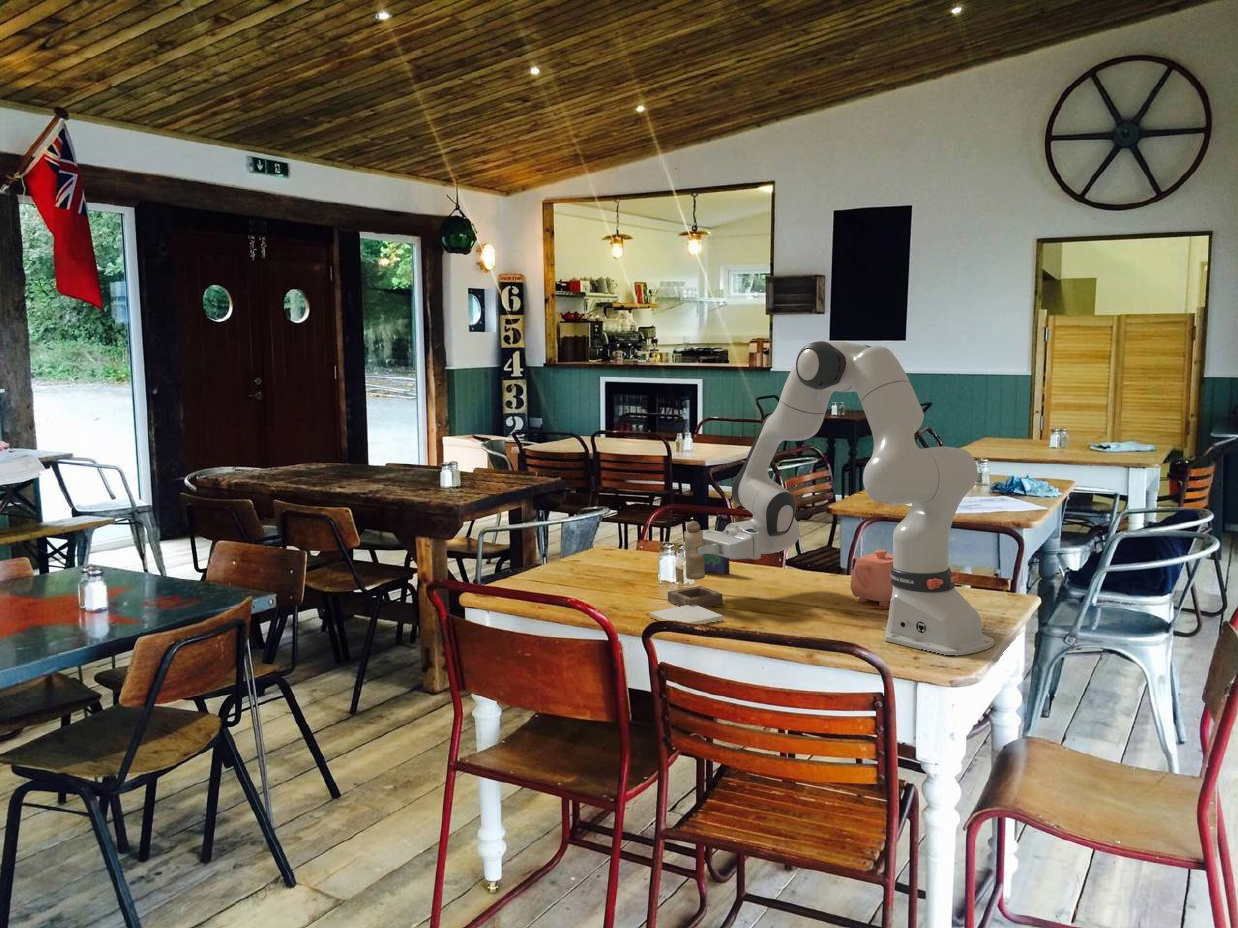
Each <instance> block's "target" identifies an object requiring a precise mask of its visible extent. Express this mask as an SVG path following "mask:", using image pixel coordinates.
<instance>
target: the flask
mask: <svg viewBox="0 0 1238 928" xmlns="http://www.w3.org/2000/svg"><path fill="white" fill-rule="evenodd" d="M730 567H731V565H730V559H729V558H726V557H722V556H719V555H715V554H704V570H705V574H708V575H713V574H714V575H723V576H726V575H727V576H728V575H730Z"/></svg>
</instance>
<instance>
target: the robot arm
mask: <svg viewBox="0 0 1238 928" xmlns="http://www.w3.org/2000/svg"><path fill="white" fill-rule="evenodd" d="M834 392H839V393H851V392H852V393H854V392H856V394H857V397H858V399H859V401H860V404H861V407H862V409H863V411H864V412H863V413H864V414H865V417H866V420H867V422H868V426H869V428H870V430H871V434H872V438H873V450H872V455H871V457H870V459H869V460H868V462H867V463H866V465H865V466H864V470H863V474H862V482H863V488H864V490H865V492H866V493H867V495H868V497H869V499H871V501H874V502H875V503H877V504H880V505H881V504H882V505H889V506H890V505H892V506H902V505H910V504H911V506H910V509H909V511H908V512H907V514H906V516H905V517H904V518H903V519H902V520H901V521H900V522H899V523H898V524H897V525H896V526H895V528H894V529H893V534H892V554H893V566H892V567H891V573H890V576H891V584H892V585H893V589H892V596H891V601H889V605H890V606H889V610H888V619H887V624H886V627H885V629H884V633H885V634H884V640H885V641H886V642H890V643H893V644H898V645H900V646H901V645H902V646H905V647H910V648H913V649H918V650H921V649H923V650H922V651H925V650H927V651H926V652H929V651H932V652H931V653H933V652H936V653H935V654H937V653H940V654H939V655H941V654H944V655H943V656H945V655H955V656H964V655H969V654H976V653H978V652H979V653H980V652H982V651H983V652H984V651H985V650H988V649H990V648H992V647H993V646H994V645H995V639H994V638H992V637H991V636H988V635H987V634H984V633H983V627H982V621H981V616H980V614H979V612H978V611H977V610H976V609H975V608H974V607H973V606H972V605H971V604H970V603H969V602H968V601H967V600H966V598H964V596H963V595H962V594H961V593H960V592H959V591H958V590H957V589H956V583H955V582H959V581H960V579H958V578H959V577H960V575H954V576H953V572H952V571H951V568H950V566H949V555H950V551H949V549H950V535H951V528H952V524H953V520H954V518H955V516H956V512H957V510H958V508H959V506H960V504H961V502H962V501H963V499H964V498H965V496H966V495H968V493H969V492H970V491H971V490H972V489H973V488H974V487H975V486H976V483H977V479H978V473H979V472H978V465H977V462H976V460H975V458H974V457H973V455H972V454H971V453H970V452H969V451H967V450H966V449H963V448H959V447H954V446H953V447H952V446H945V445H944V446H933V447H927V448H926V447H925V448H920V447H919V446H918V444H917V442H916V439H915V434H916V433H917V432H918V431H919V429H920V428H921V426H922V424H923V422H924V417H925V414H924V413H925V412H924V410H923V409H922V406H921V404H920V402H919V399H918V397H917V394H916V392H915V390H914V388H913V386H912V384H911V381H910V379H909V377H908V376H907V373H906V371H905V369H904V368H903V366H902V365H901V363H900V361H899V360H898V359H897V357H896V355H894V353H893V351H891V350H890V349H889V348H887V347H885V346H881V345H879V346H877V345H876V346H871V345H867V344H856V343H851V342H848V341H847V342H846V341H823V340H819V341H814V342H810V343H807V344H805V346H803V347H802V348H801V349H800V350H799V352H798V354H797V356H796V361H795V364H794V365H793V367H792V369H791V371H790V372H789V374H788V377H787V378H786V381H785V383H784V386H783V389H782V391H781V394H780V396H779V400H778V403H777V406H776V407H775V410H774V411H773V412H772V413H770V414H768V416H766V417H765V418H764V420H763V421H762V424H761V426H760V428H759V430H758V431H757V434H756V436H755V437H754V438H755V439H754V441H753V443H752V445H751V447H750V450H749V452H748V455H747V456H746V458H745V461H744V463H743V465H742V467H741V469H740V470H739V472H738V473H737V474H736V477H735V478H734V480H733V482H732V485H731V496H732V500H733V501H734V502H735V504H737V505H739V506H741V507H742V508H743V509H745V510H747V511H748V512H749V513H751V514H752V518H751V519H749V520H743V521H736V522H730V523H728V524H727V525H726V526H725V528H724V530H722V531H718V530H714V529H703V530H701V531H703V545H700V546H697V547H696V552H697V553H698V554H715V555H719V556H722V557H726V558H729V560H746V559H748V560H759V559H761V558H762V557H761V556H762V555H767V554H768V555H769V554H773V553H777V552H782V551H785V550H787V549H790V548H791V547H793V546H794V545H795V544H796V543H797V542H798V540H799V538H800V525H799V522H798V521H797V520H796V517H795V516H796V510H797V499H796V498H795V496H794V495H793V493H791V492H790V491H788V490H787V489H786V488H785V487H783V486H782V485H780V484H779V483H777V482H776V481H774V480H773V479H772V478H770V475H769V471H768V470H769V468H770V465H771V463H772V461H773V458H774V456H775V454H776V451H777V449H778V448H779V445H780V444H781V443H782V442H783V441H789V442H791V441H793V442H799V441H806V440H808V439H810V438H812V437H814V436H815V435H816V434H817V433H818V432H819V430H820V429H821V428H822V427H821V426H822V424H823V422H824V419H825V415H826V412H827V409H828V405H829V402H830V399H831V396H832V394H833V393H834ZM682 548H683V550H684V551H685V541H684V542H683V543H682Z"/></svg>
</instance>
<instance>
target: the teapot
mask: <svg viewBox="0 0 1238 928" xmlns="http://www.w3.org/2000/svg"><path fill="white" fill-rule="evenodd" d="M892 566H893V553H888V551H887V550H885V549H876V550H875V551H874V552H872V553H869V554H865V555H861V556H859V557H858V558H857V559H856V560H855V563H854V567H853V569H852V574H851V578H850V590H851V592H852V595H853V596H854V597H857V598H858V600H857V602H858V603H859V602H860V603H868V602H869V601H875V602H878V606H879V607H880V608H881V607H882V608H883V607H884V608H886V607H890V601H891V596H892V589H893V585H892V584H891V576H890V573H891V567H892Z"/></svg>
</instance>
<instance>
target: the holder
mask: <svg viewBox="0 0 1238 928" xmlns="http://www.w3.org/2000/svg"><path fill="white" fill-rule="evenodd" d="M668 601H669V602H671V603H670V604H672V603H673V604H672V605H674V604H676V605H675V606H677V605H678V606H677V607H679V606H685V605H689V606H690V605H698V606H700V607H703V608H705V609H707V608H710V607H715V606H721V605H723V604H724V603H723V602H724V601H723V593H721V592H718V591H715V590H714V589H710V588H707V587H706V586H703V585H697V586H692V587H686V588H682V589H676V590H671V591H667V602H668ZM669 602H668V603H669Z"/></svg>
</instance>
